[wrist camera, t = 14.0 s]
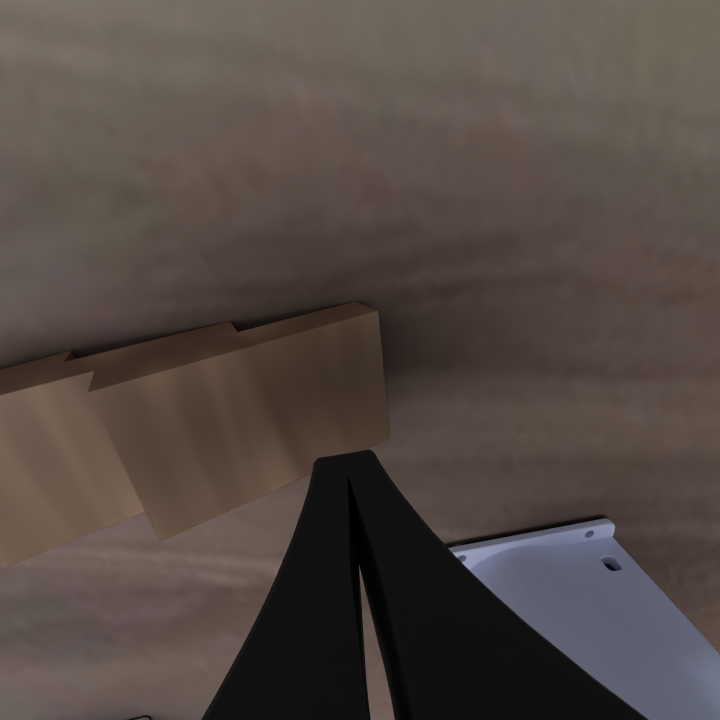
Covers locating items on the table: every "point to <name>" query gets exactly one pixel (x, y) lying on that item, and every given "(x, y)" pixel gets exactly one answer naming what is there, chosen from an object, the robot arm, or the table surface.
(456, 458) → the table surface
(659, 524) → the table surface
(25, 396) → the walnut domino
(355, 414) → the walnut domino
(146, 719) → the coffee box
